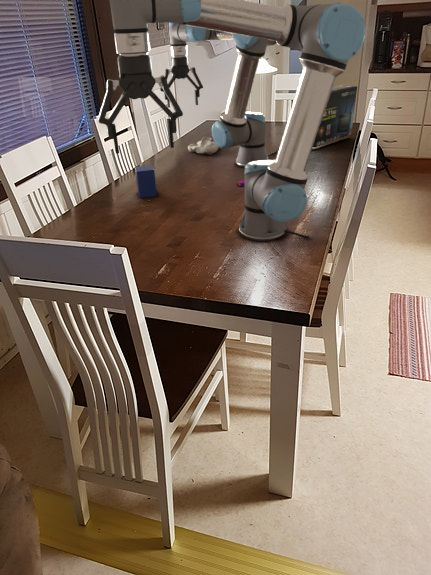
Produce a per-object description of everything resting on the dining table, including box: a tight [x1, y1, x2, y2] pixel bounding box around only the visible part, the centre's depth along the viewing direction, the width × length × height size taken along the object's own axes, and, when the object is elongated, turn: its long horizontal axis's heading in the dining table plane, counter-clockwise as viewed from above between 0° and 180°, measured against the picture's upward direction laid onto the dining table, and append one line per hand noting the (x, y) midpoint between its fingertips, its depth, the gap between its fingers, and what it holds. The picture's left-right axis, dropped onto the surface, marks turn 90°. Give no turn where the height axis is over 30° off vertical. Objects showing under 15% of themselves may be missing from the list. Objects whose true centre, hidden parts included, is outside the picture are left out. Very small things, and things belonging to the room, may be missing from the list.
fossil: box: [187, 135, 220, 156], centre depth 238 cm, size 18×11×15 cm
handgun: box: [238, 180, 245, 187], centre depth 183 cm, size 21×8×2 cm, turn 11°
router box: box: [313, 84, 358, 147], centre depth 238 cm, size 36×11×27 cm, turn 134°
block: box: [134, 164, 158, 199], centre depth 182 cm, size 7×7×11 cm
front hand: (144, 149), depth 115 cm, fingers open, 13 cm apart
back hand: (182, 105), depth 219 cm, fingers open, 13 cm apart
